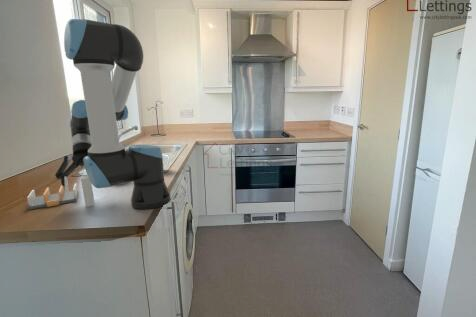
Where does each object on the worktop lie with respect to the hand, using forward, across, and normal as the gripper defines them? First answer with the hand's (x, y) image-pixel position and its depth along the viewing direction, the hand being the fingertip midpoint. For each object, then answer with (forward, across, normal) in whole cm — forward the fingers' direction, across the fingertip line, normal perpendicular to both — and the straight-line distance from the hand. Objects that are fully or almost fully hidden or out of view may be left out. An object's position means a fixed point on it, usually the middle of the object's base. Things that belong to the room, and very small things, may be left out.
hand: (87, 189), depth 103 cm
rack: (-4, +13, -13) cm, 19 cm away
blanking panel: (+4, 0, -5) cm, 6 cm away
